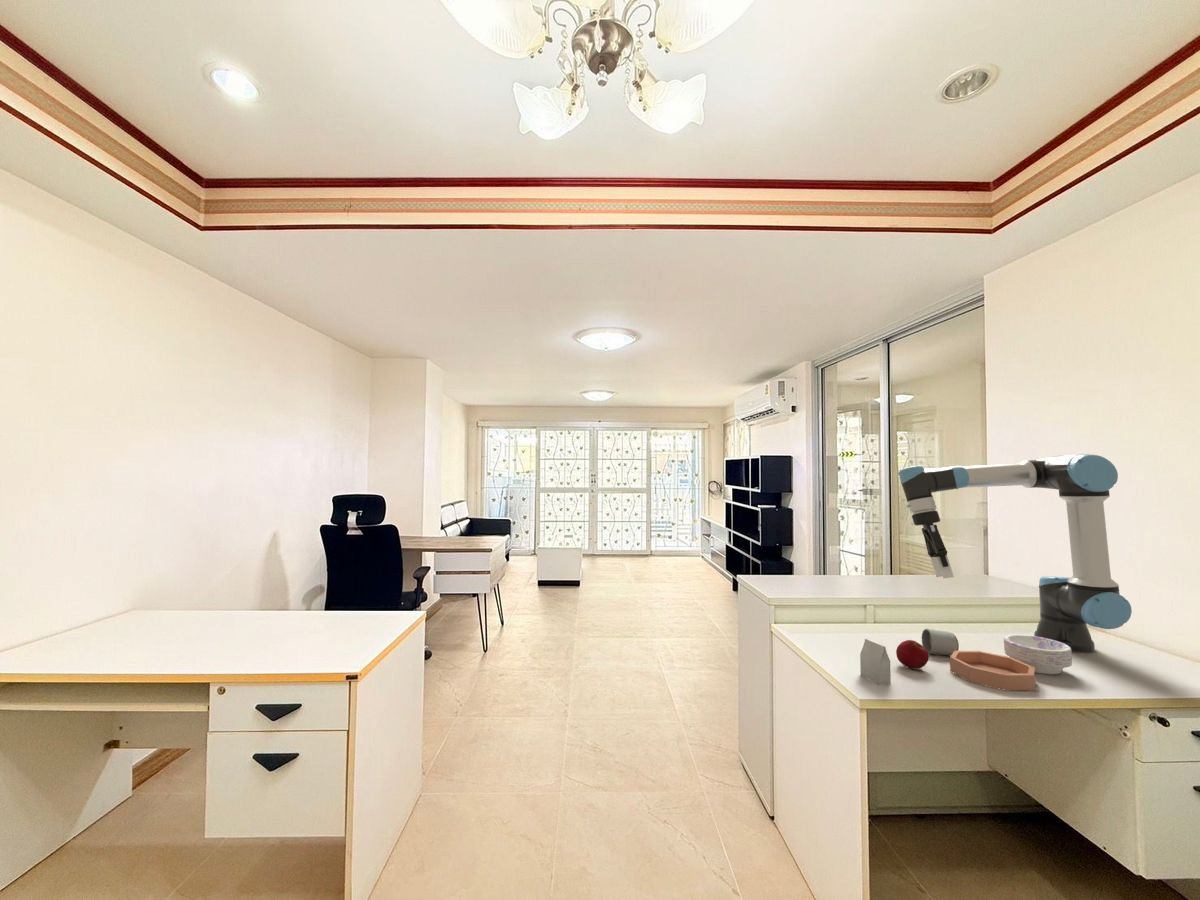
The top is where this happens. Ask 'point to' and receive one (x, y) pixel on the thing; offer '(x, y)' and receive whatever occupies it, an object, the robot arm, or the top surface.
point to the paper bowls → (1039, 653)
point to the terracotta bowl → (993, 670)
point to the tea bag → (875, 663)
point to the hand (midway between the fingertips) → (944, 577)
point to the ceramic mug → (939, 642)
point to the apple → (912, 654)
